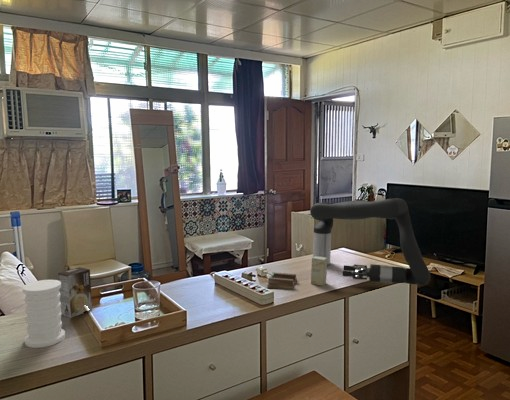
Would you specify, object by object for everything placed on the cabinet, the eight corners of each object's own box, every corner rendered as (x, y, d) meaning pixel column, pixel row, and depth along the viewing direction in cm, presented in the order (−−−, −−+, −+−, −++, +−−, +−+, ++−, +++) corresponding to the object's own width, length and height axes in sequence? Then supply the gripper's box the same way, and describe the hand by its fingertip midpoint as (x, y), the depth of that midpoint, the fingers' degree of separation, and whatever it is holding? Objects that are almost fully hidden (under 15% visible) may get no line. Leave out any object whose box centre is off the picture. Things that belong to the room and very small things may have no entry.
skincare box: (310, 283, 185) (311, 257, 183) (313, 281, 189) (314, 255, 187) (323, 285, 182) (324, 259, 180) (326, 283, 186) (327, 257, 184)
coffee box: (82, 306, 157) (80, 266, 155) (92, 310, 153) (90, 269, 151) (60, 314, 149) (57, 272, 147) (70, 318, 146) (68, 275, 144)
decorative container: (68, 341, 128) (65, 286, 126) (27, 351, 122) (23, 294, 119) (61, 328, 138) (58, 277, 135) (22, 337, 131) (19, 283, 129)
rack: (273, 278, 193) (273, 270, 192) (296, 280, 190) (296, 272, 189) (267, 287, 179) (267, 279, 179) (291, 289, 176) (291, 282, 176)
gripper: (380, 260, 184) (344, 258, 188) (381, 269, 170) (342, 266, 174) (379, 276, 185) (343, 273, 189) (381, 287, 171) (342, 283, 175)
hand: (343, 270), depth 182 cm, fingers open, 8 cm apart
